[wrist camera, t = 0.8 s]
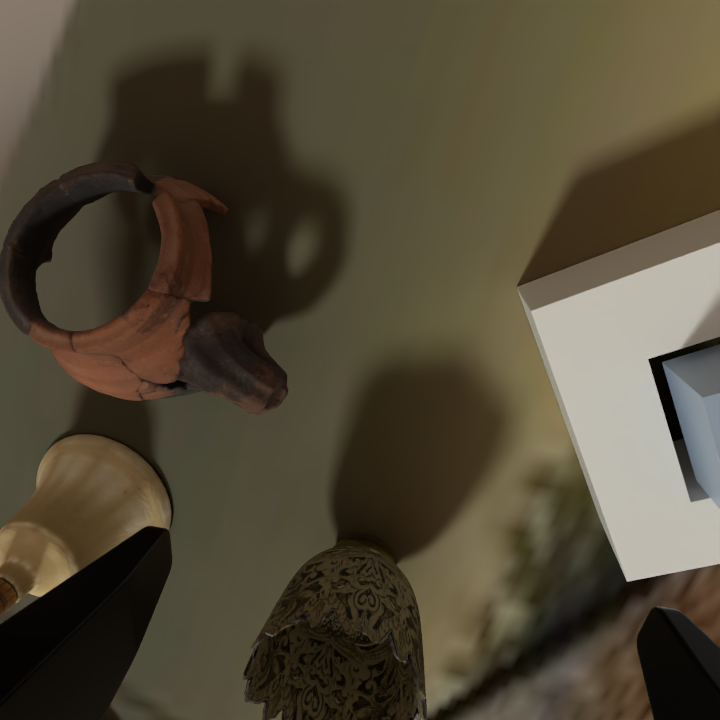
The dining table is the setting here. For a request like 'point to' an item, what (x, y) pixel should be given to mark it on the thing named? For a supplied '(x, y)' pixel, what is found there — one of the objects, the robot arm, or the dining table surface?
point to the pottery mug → (142, 300)
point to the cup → (342, 641)
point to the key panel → (634, 387)
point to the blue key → (699, 412)
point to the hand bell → (77, 514)
